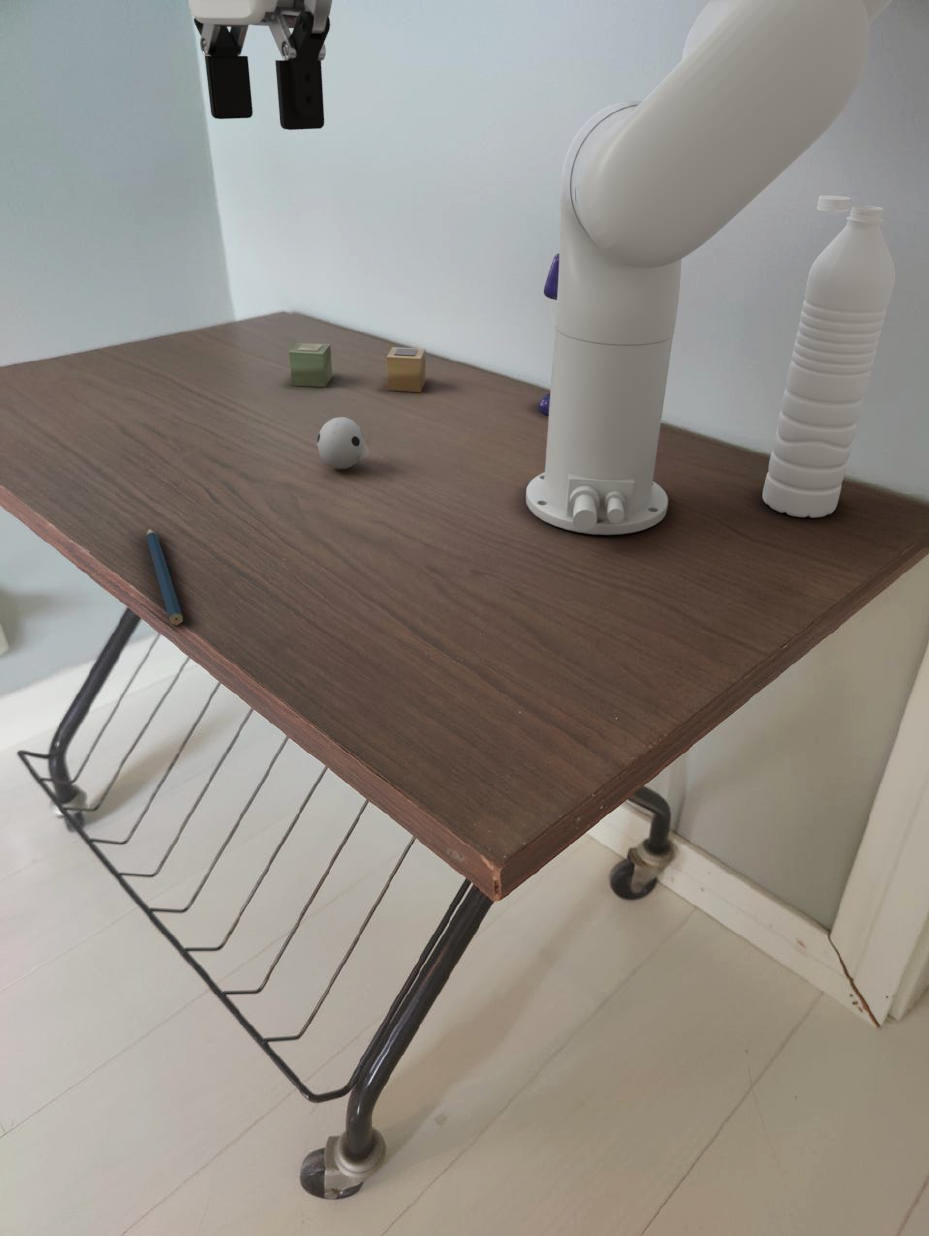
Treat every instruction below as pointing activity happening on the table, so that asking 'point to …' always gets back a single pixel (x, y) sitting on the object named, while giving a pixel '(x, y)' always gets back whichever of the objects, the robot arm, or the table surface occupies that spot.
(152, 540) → the pencil
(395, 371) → the block row
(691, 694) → the table surface
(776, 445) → the water bottle
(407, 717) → the table surface
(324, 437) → the figurine
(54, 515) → the table surface
